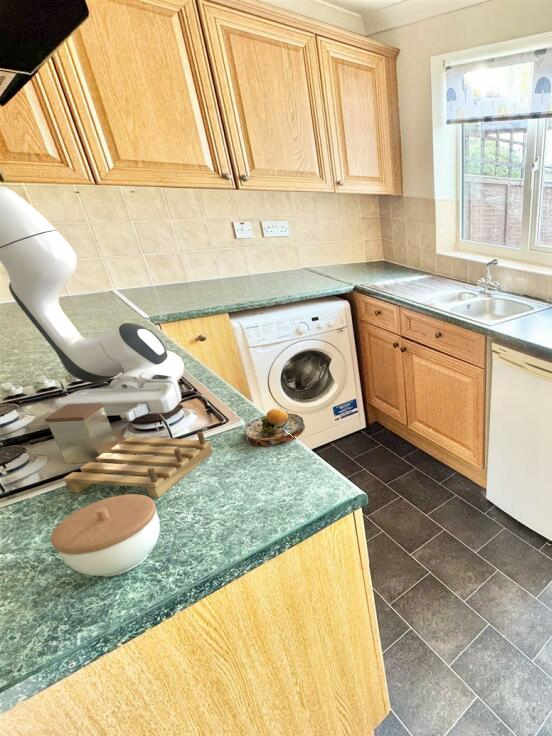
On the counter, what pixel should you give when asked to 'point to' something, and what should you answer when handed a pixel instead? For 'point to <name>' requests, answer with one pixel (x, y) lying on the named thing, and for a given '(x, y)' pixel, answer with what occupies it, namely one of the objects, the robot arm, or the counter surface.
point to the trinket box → (108, 535)
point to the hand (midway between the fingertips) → (97, 419)
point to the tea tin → (82, 432)
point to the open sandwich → (274, 428)
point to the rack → (135, 445)
